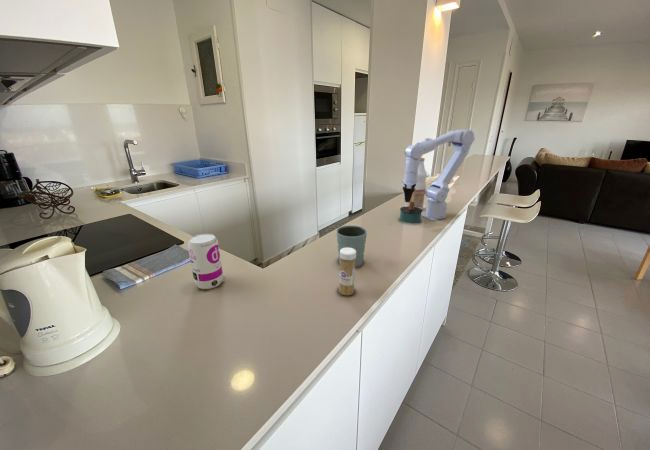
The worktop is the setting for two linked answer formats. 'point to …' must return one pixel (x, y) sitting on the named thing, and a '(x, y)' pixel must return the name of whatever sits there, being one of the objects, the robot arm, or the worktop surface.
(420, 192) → the fruit juice
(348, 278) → the sprinkles bottle
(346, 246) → the grey green cup
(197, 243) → the supplement can
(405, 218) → the pot
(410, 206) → the lid
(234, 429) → the worktop surface
